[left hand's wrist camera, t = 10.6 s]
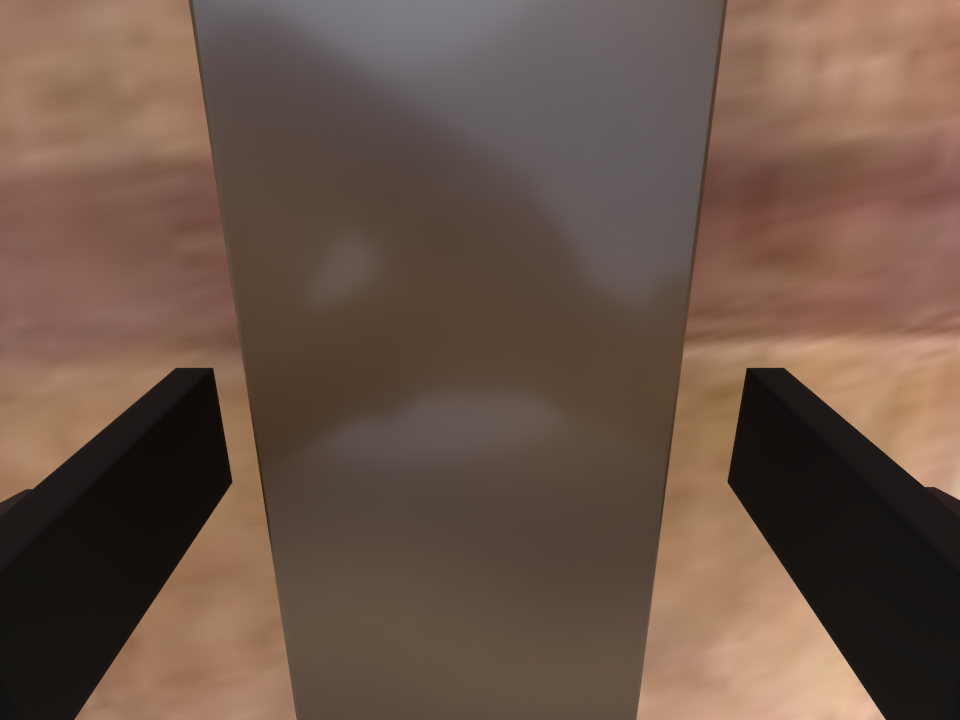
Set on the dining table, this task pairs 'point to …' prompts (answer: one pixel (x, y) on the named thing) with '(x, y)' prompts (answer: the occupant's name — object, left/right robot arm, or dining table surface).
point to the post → (462, 332)
